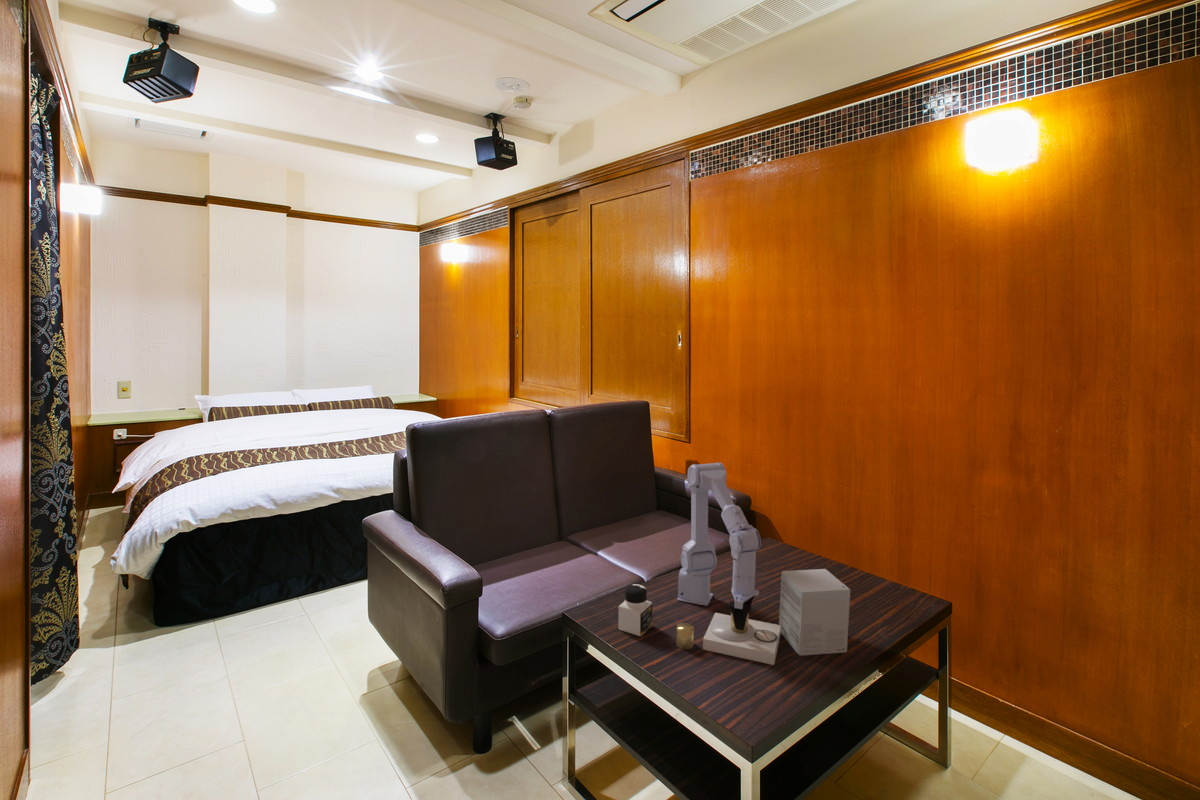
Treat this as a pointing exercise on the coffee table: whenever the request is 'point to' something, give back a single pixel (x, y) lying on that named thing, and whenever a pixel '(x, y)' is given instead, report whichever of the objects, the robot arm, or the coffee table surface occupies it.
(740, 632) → the cylinder
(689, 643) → the cylinder
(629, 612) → the medicine bottle
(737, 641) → the scale
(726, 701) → the coffee table surface
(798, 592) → the supplement box
